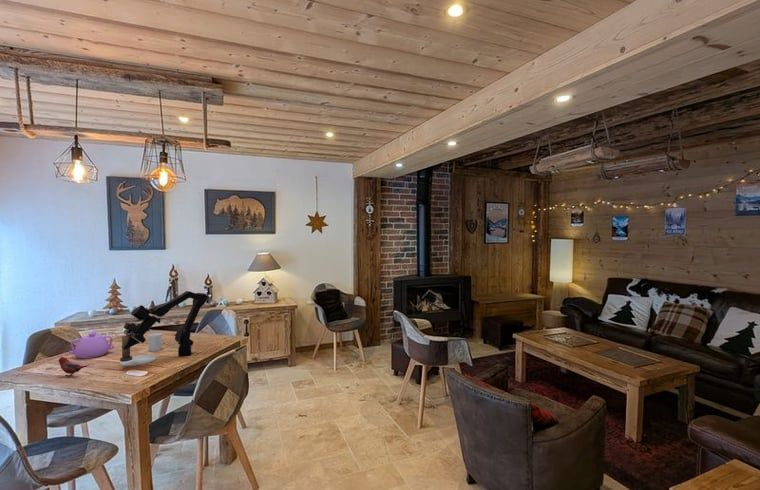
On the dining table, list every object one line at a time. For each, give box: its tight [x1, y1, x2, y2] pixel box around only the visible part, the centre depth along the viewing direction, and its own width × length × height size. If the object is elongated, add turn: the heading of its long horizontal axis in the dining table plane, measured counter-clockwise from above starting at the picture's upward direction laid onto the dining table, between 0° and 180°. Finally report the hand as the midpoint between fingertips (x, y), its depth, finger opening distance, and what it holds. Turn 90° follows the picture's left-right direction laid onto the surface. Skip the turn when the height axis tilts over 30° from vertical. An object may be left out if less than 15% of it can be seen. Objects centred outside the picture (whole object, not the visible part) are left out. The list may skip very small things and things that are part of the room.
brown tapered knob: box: [119, 335, 132, 362], centre depth 202 cm, size 6×6×13 cm
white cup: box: [147, 332, 163, 352], centre depth 236 cm, size 8×8×10 cm
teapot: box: [68, 328, 115, 359], centre depth 226 cm, size 22×22×14 cm
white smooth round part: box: [119, 354, 157, 367], centre depth 214 cm, size 18×18×1 cm
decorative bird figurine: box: [57, 356, 90, 377], centre depth 190 cm, size 3×18×10 cm, turn 84°
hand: (123, 348), depth 201 cm, fingers closed on brown tapered knob, 4 cm apart
